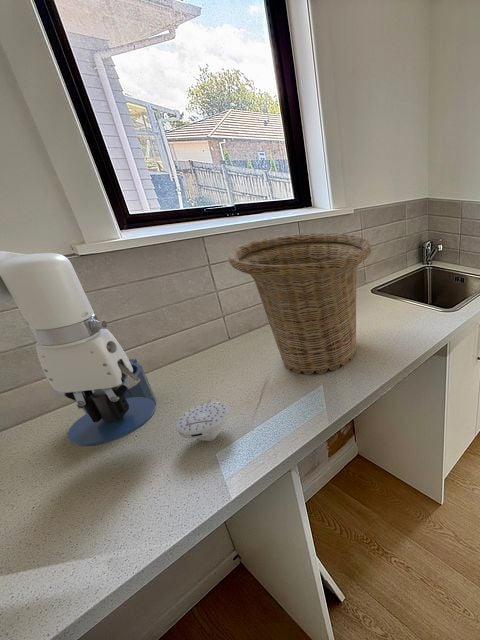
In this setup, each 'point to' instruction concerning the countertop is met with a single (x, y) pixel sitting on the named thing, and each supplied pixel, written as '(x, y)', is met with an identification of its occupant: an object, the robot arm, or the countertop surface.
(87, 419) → the lid
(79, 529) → the countertop surface
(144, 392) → the pot
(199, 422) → the showerhead
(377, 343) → the countertop surface
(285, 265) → the wicker basket
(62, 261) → the robot arm
